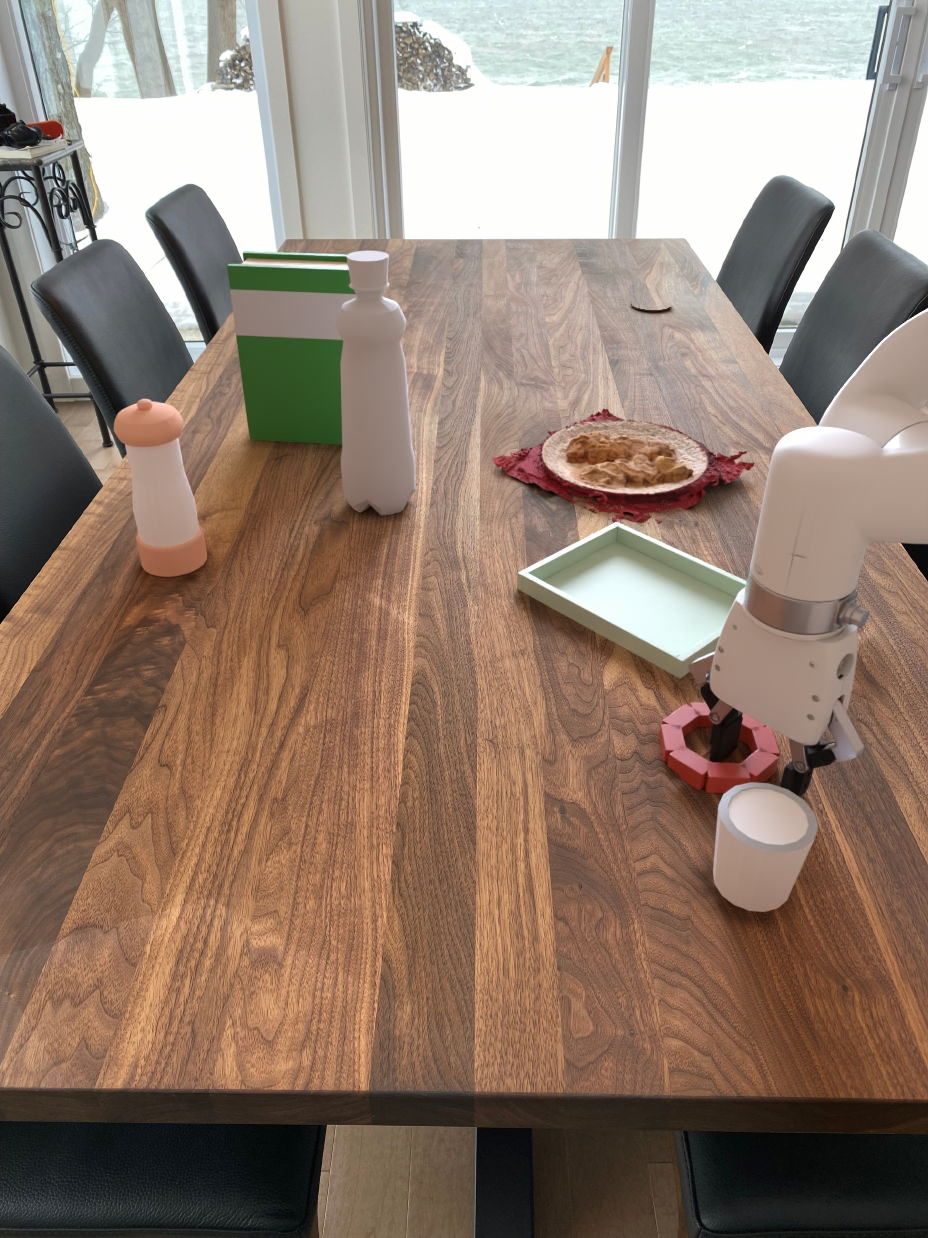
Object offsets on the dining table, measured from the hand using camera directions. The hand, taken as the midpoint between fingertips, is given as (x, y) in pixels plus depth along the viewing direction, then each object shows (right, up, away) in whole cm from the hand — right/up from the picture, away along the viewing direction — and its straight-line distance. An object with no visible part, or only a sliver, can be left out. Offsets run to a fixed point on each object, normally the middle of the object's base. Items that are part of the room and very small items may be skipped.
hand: (755, 773), depth 82 cm
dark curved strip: (+12, +74, +109) cm, 132 cm away
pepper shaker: (-57, +20, +29) cm, 67 cm away
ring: (-3, +1, +2) cm, 4 cm away
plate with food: (-4, +32, +48) cm, 58 cm away
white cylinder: (-3, -7, -9) cm, 12 cm away
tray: (-5, +15, +22) cm, 27 cm away
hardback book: (-46, +40, +59) cm, 84 cm away
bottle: (-35, +28, +41) cm, 60 cm away
